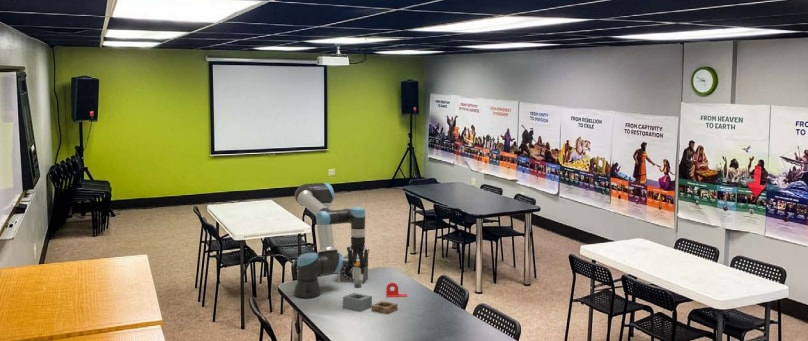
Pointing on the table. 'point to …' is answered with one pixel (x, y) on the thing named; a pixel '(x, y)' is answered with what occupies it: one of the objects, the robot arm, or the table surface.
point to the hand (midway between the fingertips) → (357, 279)
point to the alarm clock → (349, 272)
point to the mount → (384, 307)
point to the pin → (357, 275)
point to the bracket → (393, 293)
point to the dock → (357, 302)
